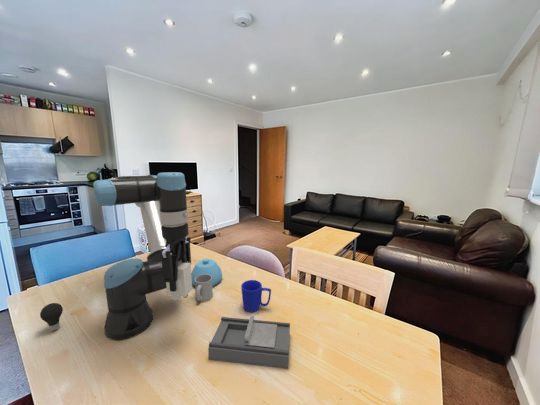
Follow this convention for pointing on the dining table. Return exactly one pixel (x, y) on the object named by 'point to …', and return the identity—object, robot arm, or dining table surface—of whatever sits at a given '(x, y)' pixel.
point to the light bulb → (52, 315)
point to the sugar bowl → (207, 270)
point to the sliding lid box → (234, 350)
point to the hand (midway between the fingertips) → (180, 294)
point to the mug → (253, 295)
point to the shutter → (260, 334)
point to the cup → (203, 287)
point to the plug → (183, 279)
